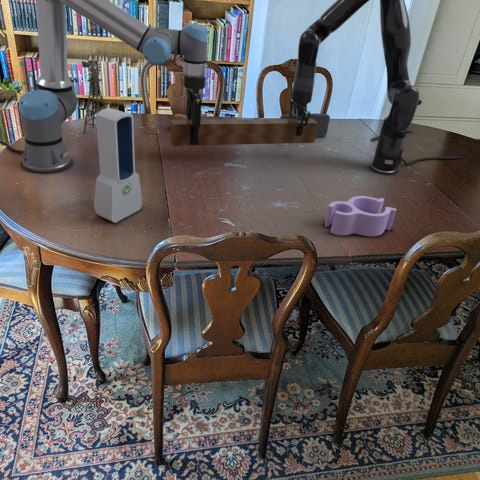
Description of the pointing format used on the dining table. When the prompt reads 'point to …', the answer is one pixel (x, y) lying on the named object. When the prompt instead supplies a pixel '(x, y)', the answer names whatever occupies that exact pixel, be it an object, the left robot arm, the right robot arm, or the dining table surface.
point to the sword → (378, 137)
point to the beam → (243, 132)
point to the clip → (359, 216)
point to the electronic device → (116, 166)
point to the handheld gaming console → (320, 119)
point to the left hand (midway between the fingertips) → (192, 141)
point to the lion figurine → (180, 117)
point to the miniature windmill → (94, 75)
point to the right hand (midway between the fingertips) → (295, 132)
